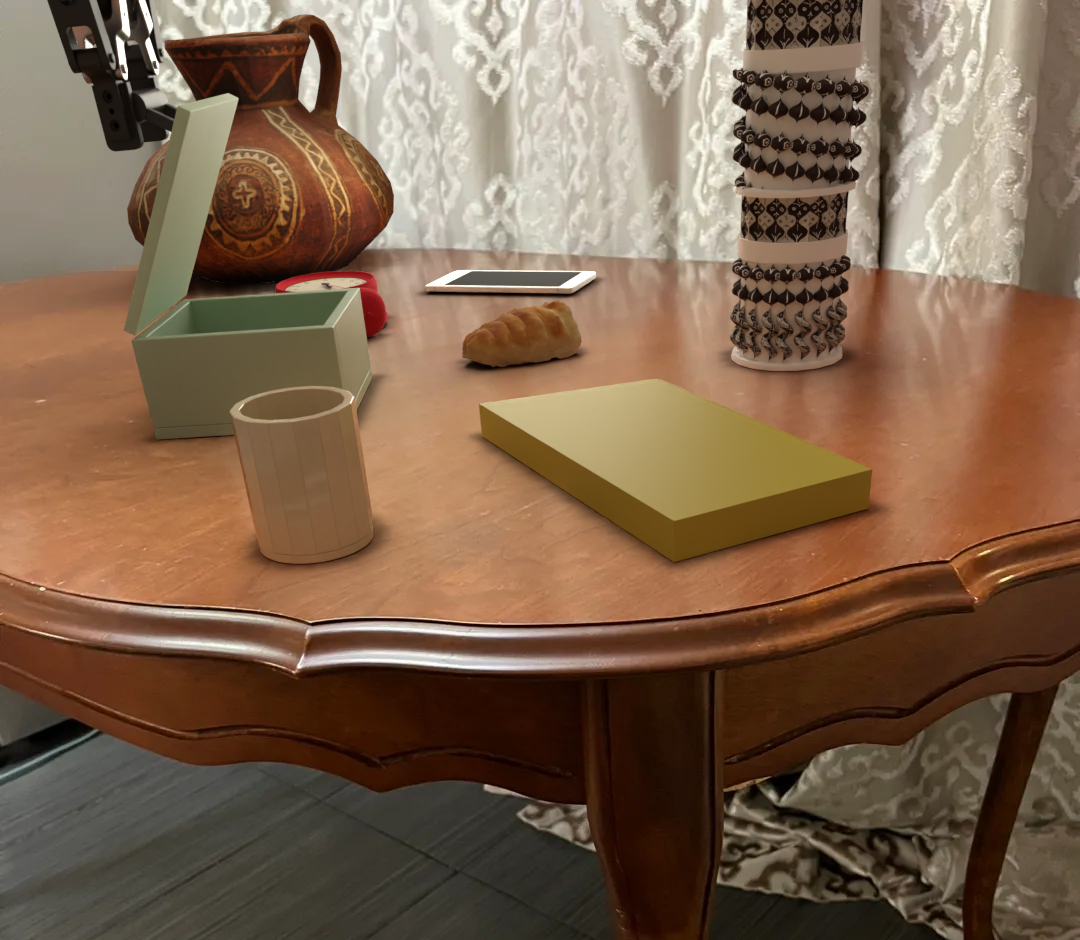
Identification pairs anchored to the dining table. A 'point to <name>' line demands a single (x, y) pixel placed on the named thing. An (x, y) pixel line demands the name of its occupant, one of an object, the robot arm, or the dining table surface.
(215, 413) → the open hinged lid box
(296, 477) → the tan cup
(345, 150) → the jug
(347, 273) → the alarm clock
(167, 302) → the box lid
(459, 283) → the cell phone
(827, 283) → the bracelet display stand
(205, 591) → the dining table surface
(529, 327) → the pastry
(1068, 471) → the dining table surface
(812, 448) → the flat olive board
